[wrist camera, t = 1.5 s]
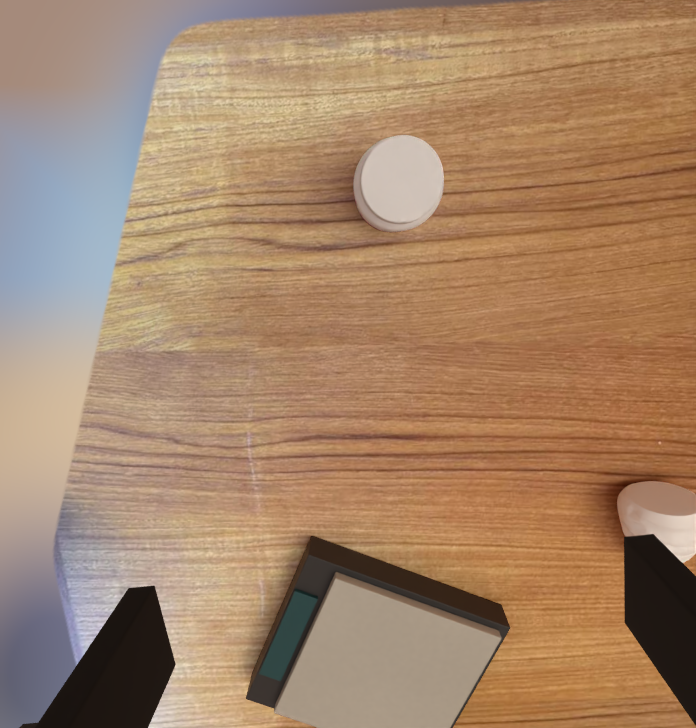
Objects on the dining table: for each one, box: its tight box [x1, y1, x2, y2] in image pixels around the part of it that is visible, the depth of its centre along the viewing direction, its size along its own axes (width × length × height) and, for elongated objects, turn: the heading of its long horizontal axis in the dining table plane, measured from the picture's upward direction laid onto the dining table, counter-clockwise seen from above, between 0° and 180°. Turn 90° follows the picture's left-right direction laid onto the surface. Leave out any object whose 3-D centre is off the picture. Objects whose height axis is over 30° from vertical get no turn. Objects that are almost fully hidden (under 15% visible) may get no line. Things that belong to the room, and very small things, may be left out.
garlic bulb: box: [617, 481, 696, 563], centre depth 34 cm, size 6×6×5 cm
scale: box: [246, 536, 510, 728], centre depth 38 cm, size 16×14×3 cm
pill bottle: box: [353, 135, 444, 232], centre depth 27 cm, size 5×5×8 cm
